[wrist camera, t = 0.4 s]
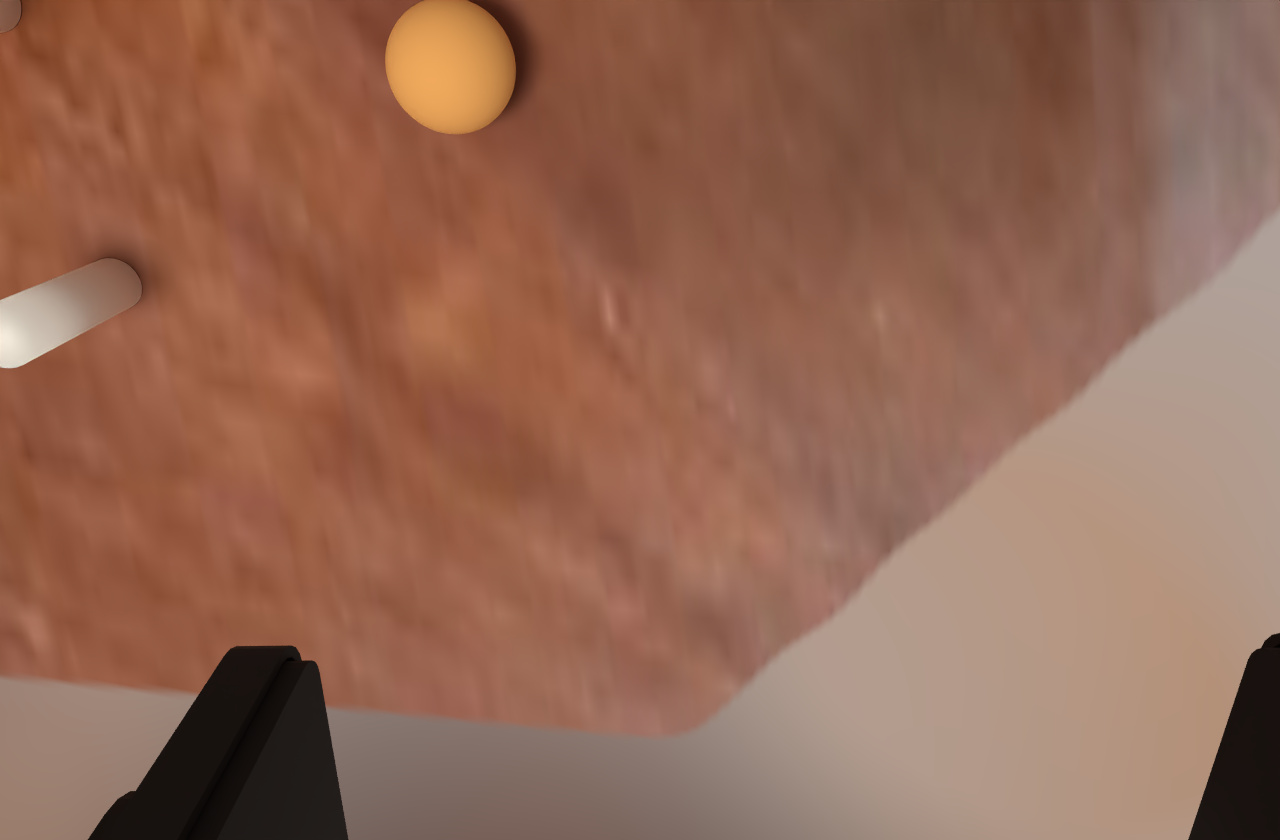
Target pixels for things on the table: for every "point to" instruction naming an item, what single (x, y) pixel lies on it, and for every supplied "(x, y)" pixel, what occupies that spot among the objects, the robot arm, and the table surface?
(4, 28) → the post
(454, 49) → the ball
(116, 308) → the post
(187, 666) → the table surface
